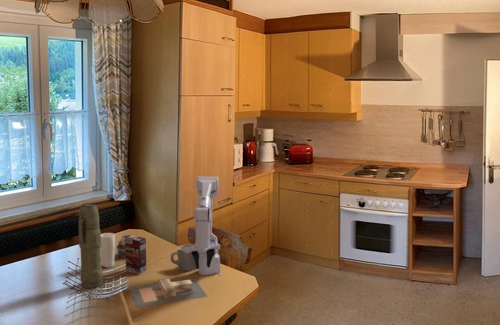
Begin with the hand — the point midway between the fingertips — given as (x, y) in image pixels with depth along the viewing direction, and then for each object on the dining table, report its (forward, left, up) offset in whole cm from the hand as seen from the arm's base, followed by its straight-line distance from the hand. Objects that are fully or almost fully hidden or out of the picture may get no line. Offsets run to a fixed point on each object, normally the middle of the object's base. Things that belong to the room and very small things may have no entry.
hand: (202, 267), depth 211 cm
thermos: (+43, -20, -10) cm, 48 cm away
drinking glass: (+34, -40, -10) cm, 53 cm away
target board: (+15, 0, -9) cm, 18 cm away
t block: (+11, 0, -8) cm, 14 cm away
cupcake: (+24, -51, -10) cm, 57 cm away
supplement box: (+23, -29, -10) cm, 38 cm away
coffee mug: (+1, -25, -10) cm, 27 cm away
